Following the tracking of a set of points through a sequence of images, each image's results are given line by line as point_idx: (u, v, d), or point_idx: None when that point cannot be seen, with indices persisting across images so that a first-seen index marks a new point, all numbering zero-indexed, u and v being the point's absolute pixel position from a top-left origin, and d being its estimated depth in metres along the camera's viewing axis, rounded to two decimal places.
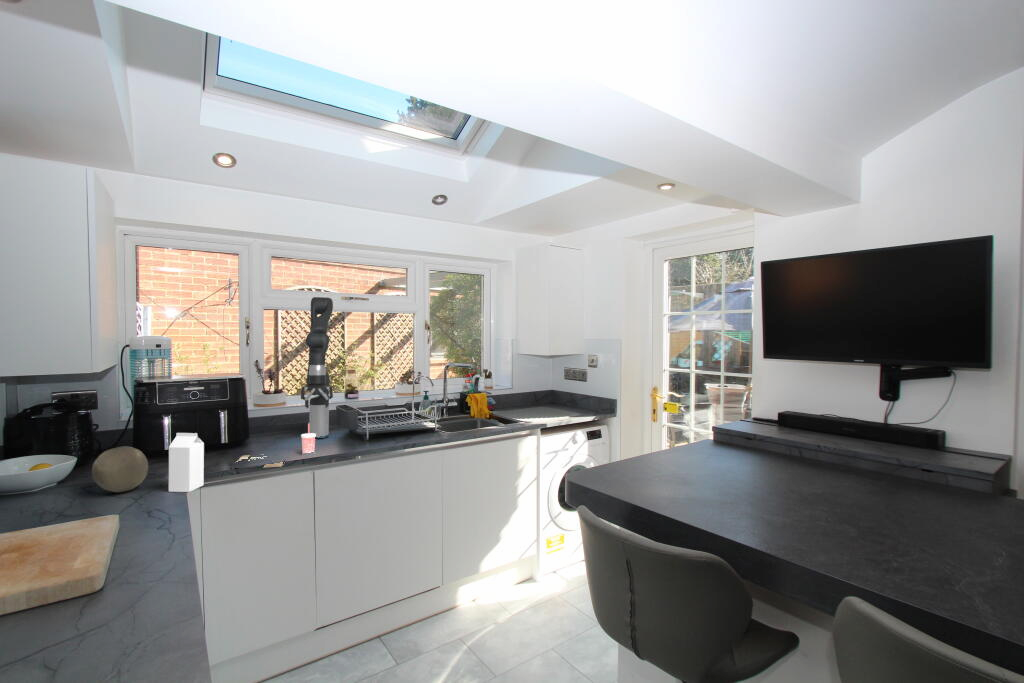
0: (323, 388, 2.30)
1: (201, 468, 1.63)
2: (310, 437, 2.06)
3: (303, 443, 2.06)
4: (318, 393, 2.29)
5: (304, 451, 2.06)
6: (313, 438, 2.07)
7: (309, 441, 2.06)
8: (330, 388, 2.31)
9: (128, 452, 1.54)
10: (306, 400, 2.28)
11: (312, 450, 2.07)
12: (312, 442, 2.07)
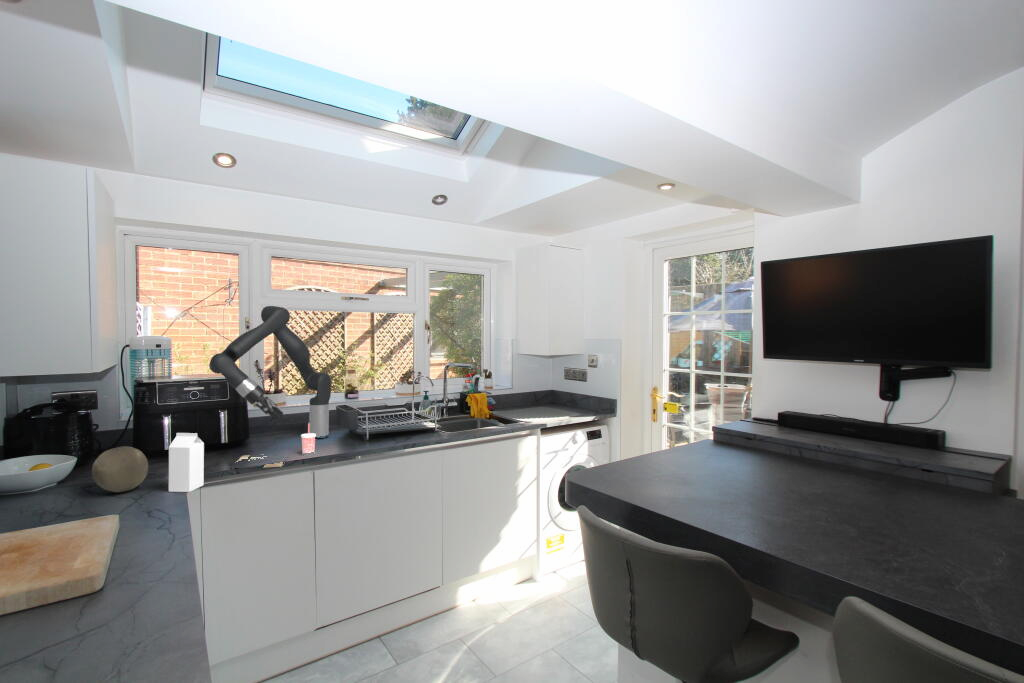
0: None
1: (201, 468, 1.63)
2: (310, 437, 2.06)
3: (303, 443, 2.06)
4: None
5: (304, 451, 2.06)
6: (313, 438, 2.07)
7: (309, 441, 2.06)
8: None
9: (129, 452, 1.54)
10: (274, 410, 2.08)
11: (312, 450, 2.07)
12: (312, 442, 2.07)
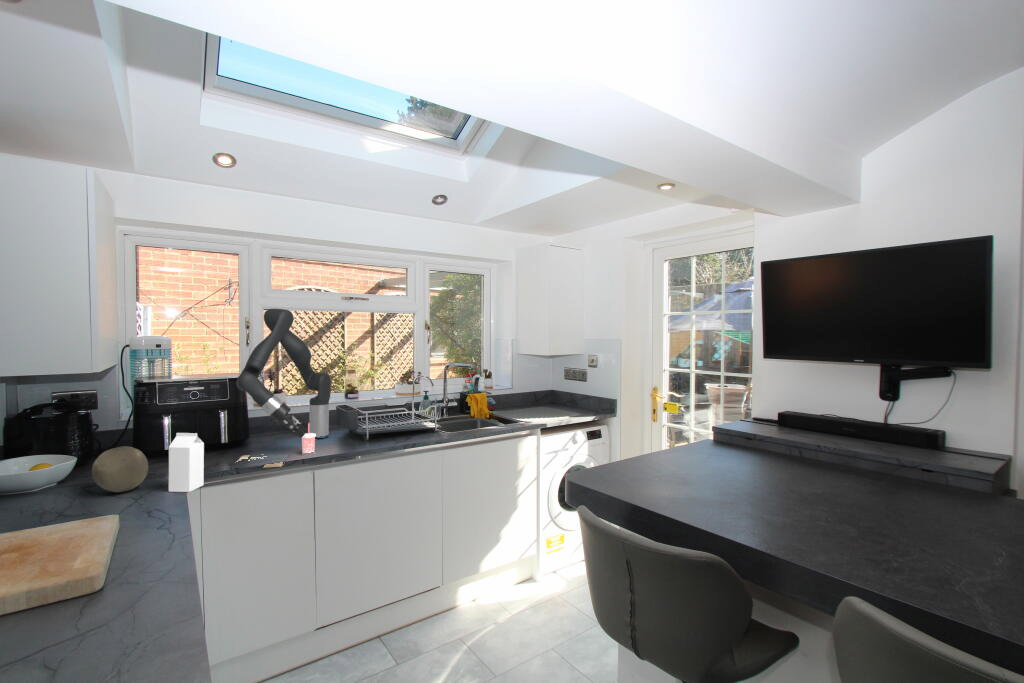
0: None
1: (201, 468, 1.63)
2: (310, 437, 2.06)
3: (303, 443, 2.06)
4: None
5: (304, 451, 2.06)
6: (313, 438, 2.07)
7: (309, 441, 2.06)
8: None
9: (129, 452, 1.54)
10: (298, 427, 2.11)
11: (312, 450, 2.07)
12: (312, 442, 2.07)
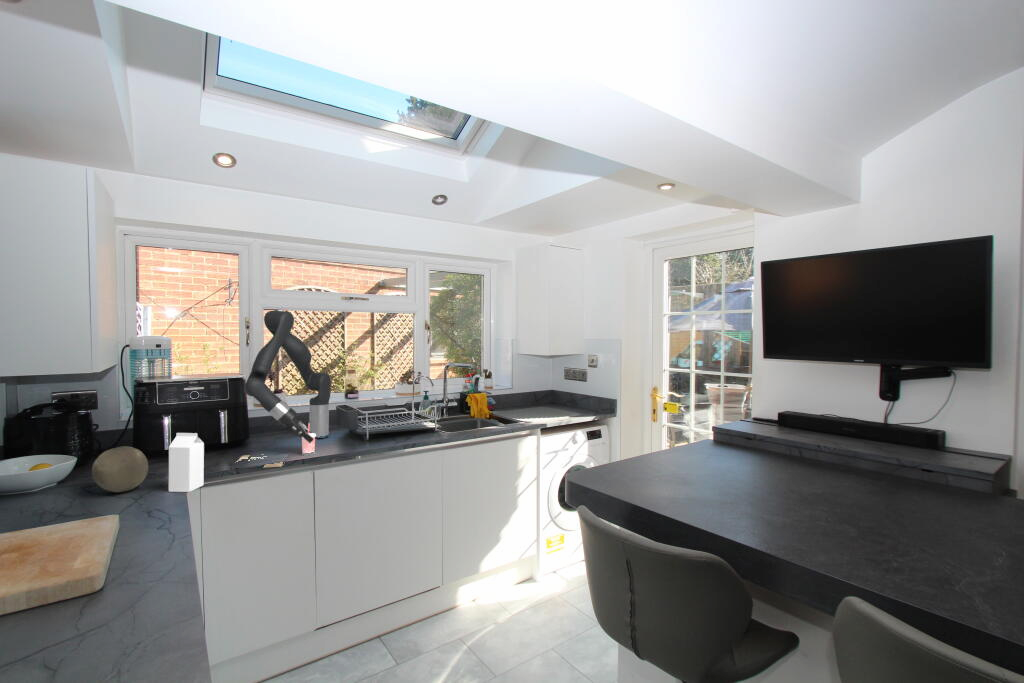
0: None
1: (201, 468, 1.63)
2: None
3: (303, 443, 2.06)
4: None
5: (304, 451, 2.06)
6: (313, 438, 2.07)
7: None
8: None
9: (129, 452, 1.54)
10: None
11: (312, 450, 2.07)
12: (312, 442, 2.07)
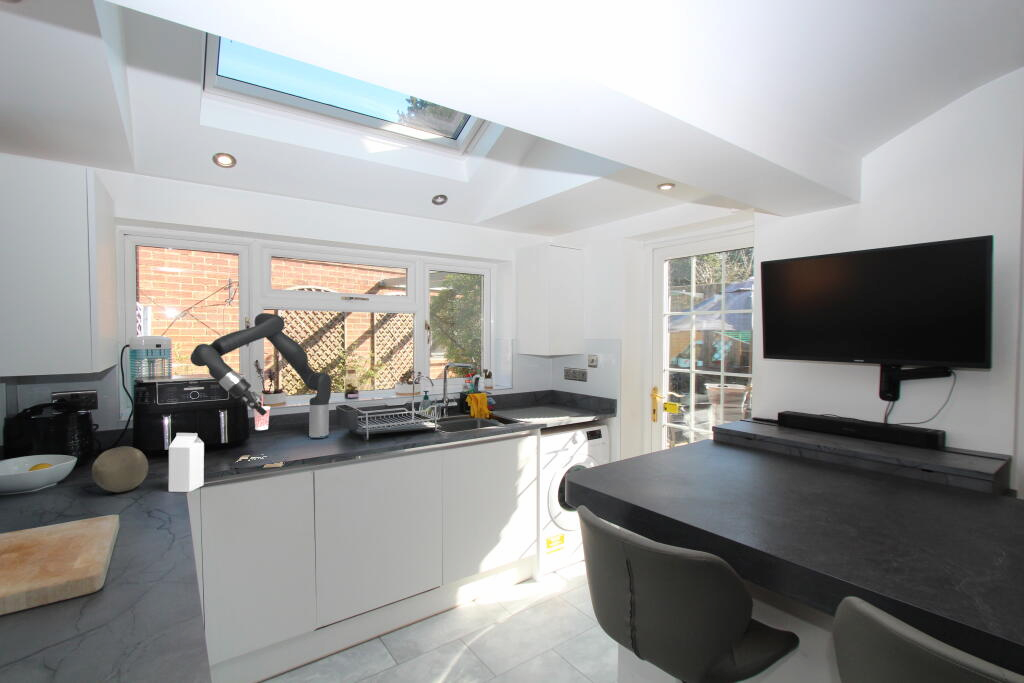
0: None
1: (201, 468, 1.63)
2: None
3: (256, 416, 1.93)
4: None
5: (256, 424, 1.93)
6: (267, 411, 1.94)
7: None
8: None
9: (129, 452, 1.54)
10: (260, 406, 1.98)
11: (265, 424, 1.94)
12: (265, 415, 1.94)
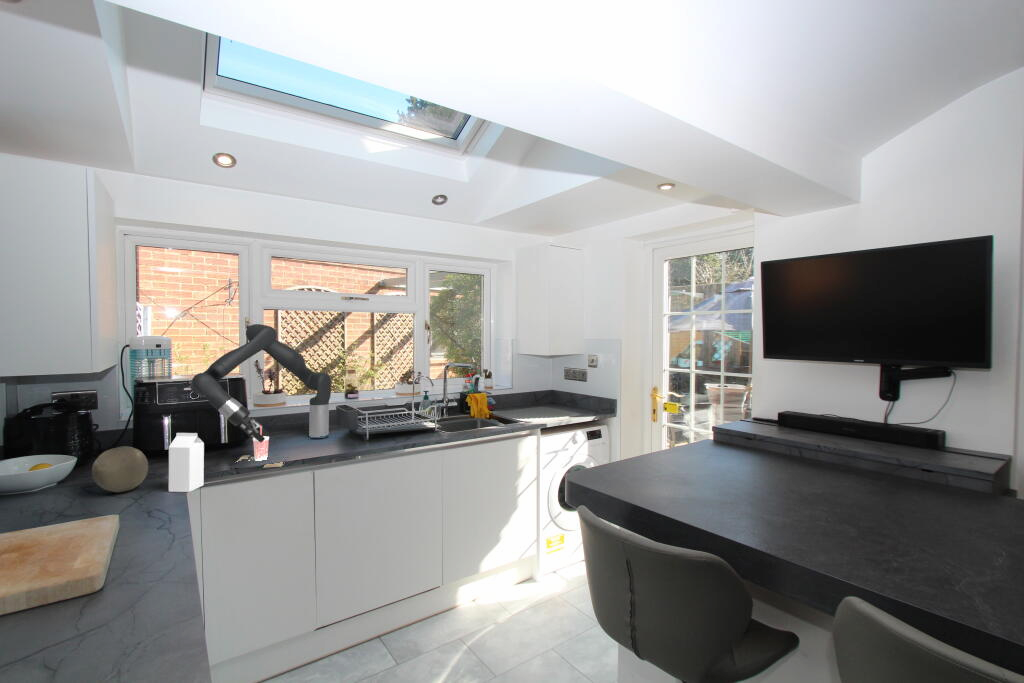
0: None
1: (201, 468, 1.63)
2: None
3: (255, 447, 1.93)
4: None
5: (256, 455, 1.93)
6: (266, 441, 1.95)
7: (261, 445, 1.93)
8: None
9: (129, 452, 1.54)
10: (259, 431, 1.99)
11: (265, 454, 1.95)
12: (264, 446, 1.94)
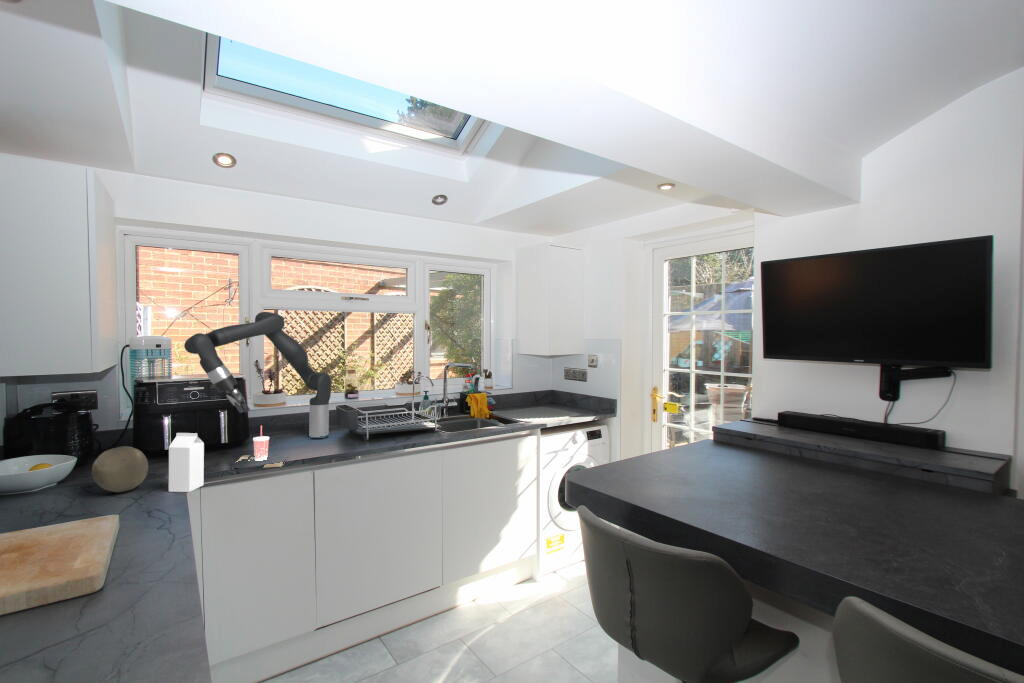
0: (230, 393, 1.91)
1: (201, 468, 1.63)
2: (262, 440, 1.93)
3: (255, 447, 1.93)
4: None
5: (256, 455, 1.93)
6: (266, 441, 1.95)
7: (261, 445, 1.93)
8: (232, 393, 1.89)
9: (128, 452, 1.54)
10: None
11: (265, 454, 1.95)
12: (265, 446, 1.94)
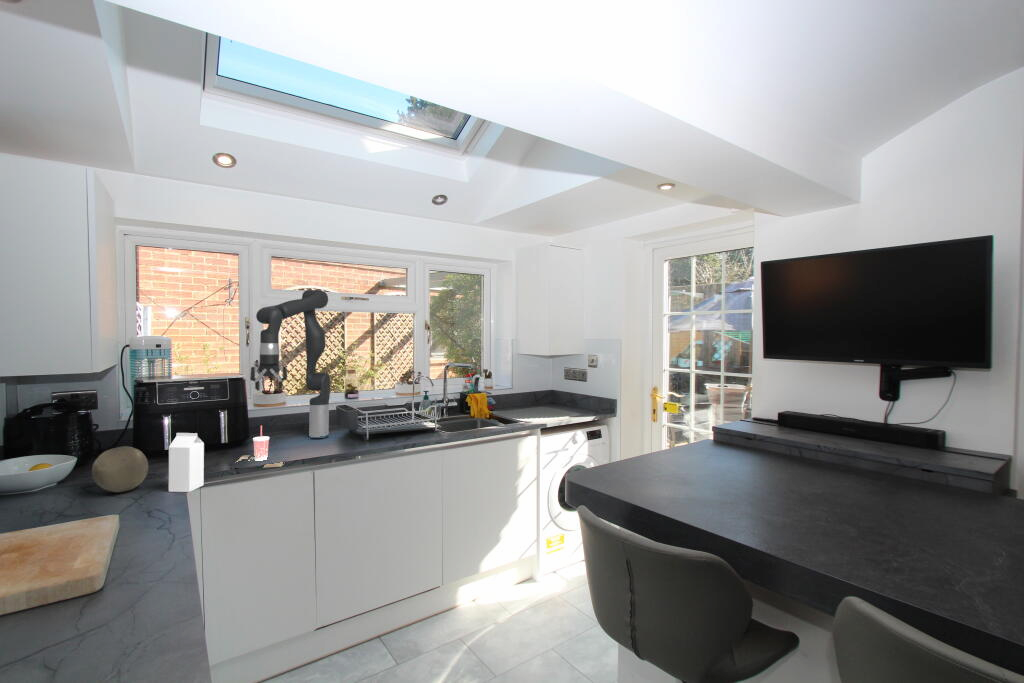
0: (276, 369, 2.08)
1: (201, 468, 1.63)
2: (262, 440, 1.93)
3: (255, 447, 1.93)
4: (270, 374, 2.08)
5: (256, 455, 1.93)
6: (266, 441, 1.95)
7: (261, 445, 1.93)
8: (283, 369, 2.09)
9: (129, 452, 1.54)
10: (256, 382, 2.07)
11: (265, 454, 1.95)
12: (265, 446, 1.94)
